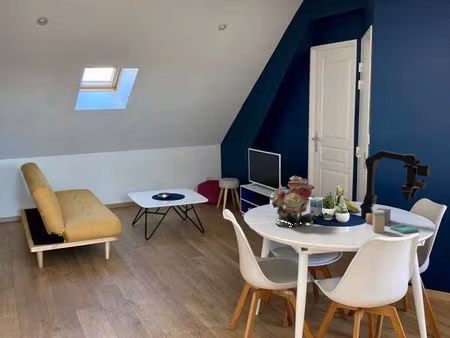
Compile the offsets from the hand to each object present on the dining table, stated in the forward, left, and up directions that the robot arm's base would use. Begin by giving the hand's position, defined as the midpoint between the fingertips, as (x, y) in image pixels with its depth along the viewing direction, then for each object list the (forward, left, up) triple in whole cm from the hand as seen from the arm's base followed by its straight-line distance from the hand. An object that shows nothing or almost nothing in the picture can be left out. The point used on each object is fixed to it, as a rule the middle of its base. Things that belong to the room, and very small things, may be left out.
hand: (410, 200), depth 305 cm
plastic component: (-48, +16, -15) cm, 52 cm away
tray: (+2, -17, -14) cm, 23 cm away
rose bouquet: (-60, -37, -15) cm, 72 cm away
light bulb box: (-58, -7, -15) cm, 60 cm away
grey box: (-14, -8, -14) cm, 22 cm away
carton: (-9, -28, -14) cm, 33 cm away
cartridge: (-20, -13, -14) cm, 28 cm away
